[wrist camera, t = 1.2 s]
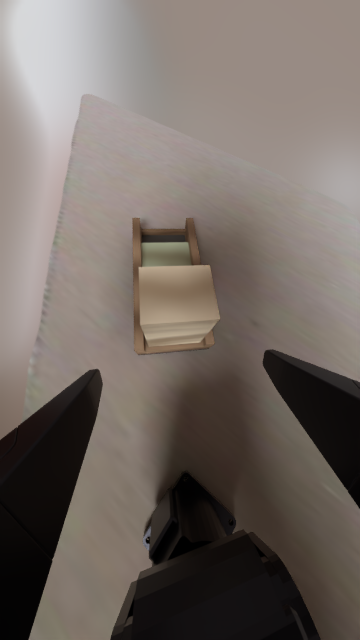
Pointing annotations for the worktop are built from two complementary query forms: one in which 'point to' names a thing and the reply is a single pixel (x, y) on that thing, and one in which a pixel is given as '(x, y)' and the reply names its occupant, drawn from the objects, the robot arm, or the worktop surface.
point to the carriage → (177, 304)
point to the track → (163, 251)
